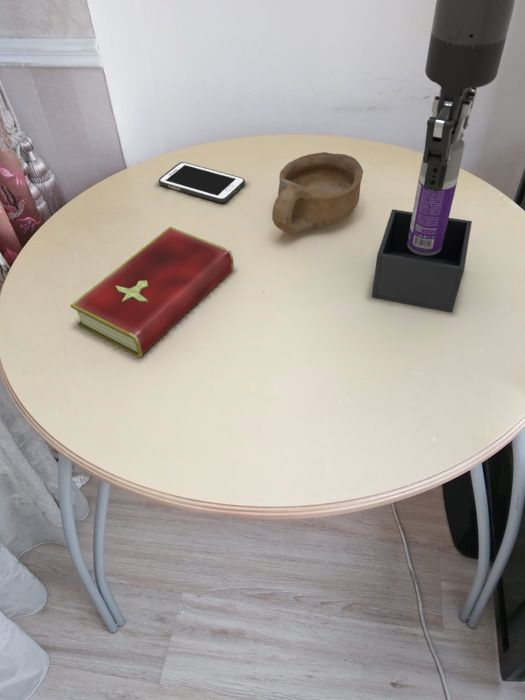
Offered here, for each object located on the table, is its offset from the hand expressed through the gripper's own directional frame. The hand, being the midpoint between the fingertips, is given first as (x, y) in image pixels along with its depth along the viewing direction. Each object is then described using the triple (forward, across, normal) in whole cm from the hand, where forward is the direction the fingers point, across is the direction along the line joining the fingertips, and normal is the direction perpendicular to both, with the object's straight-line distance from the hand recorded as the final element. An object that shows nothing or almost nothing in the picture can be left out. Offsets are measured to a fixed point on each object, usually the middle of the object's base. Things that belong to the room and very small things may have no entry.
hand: (438, 177), depth 70 cm
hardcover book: (+17, -19, +33) cm, 41 cm away
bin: (+17, 0, 0) cm, 17 cm away
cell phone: (+17, +10, +43) cm, 47 cm away
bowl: (+17, +8, +20) cm, 27 cm away
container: (+11, 0, 0) cm, 11 cm away
